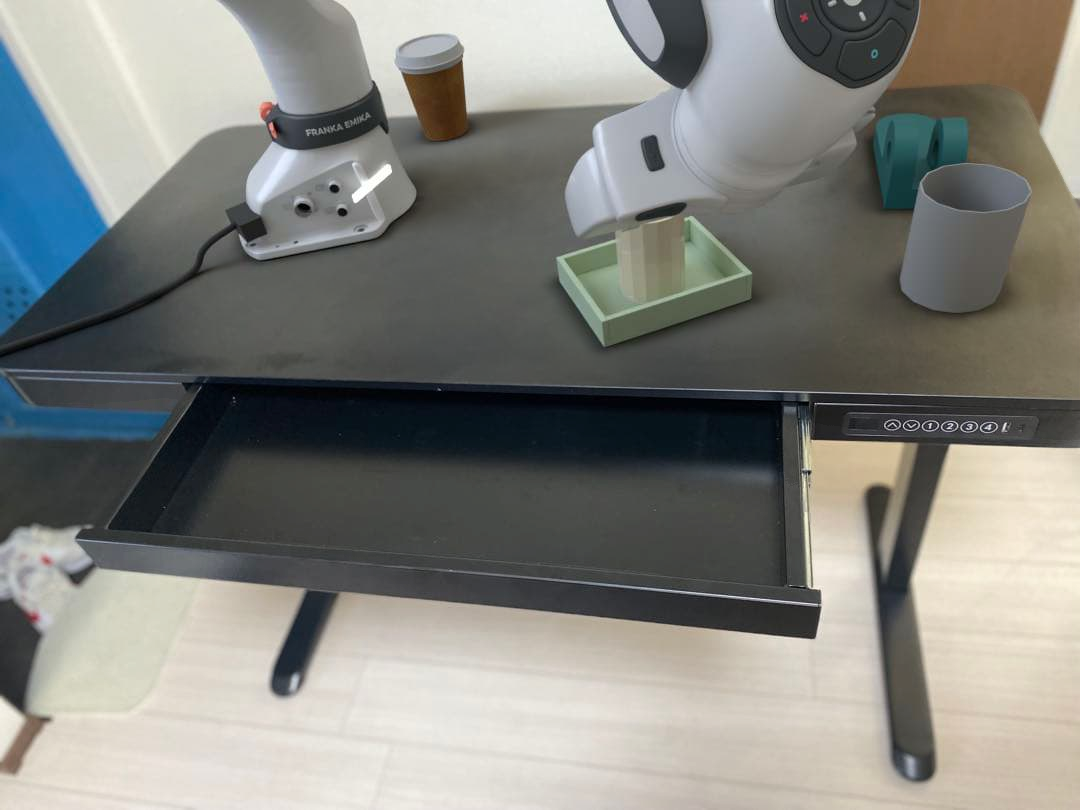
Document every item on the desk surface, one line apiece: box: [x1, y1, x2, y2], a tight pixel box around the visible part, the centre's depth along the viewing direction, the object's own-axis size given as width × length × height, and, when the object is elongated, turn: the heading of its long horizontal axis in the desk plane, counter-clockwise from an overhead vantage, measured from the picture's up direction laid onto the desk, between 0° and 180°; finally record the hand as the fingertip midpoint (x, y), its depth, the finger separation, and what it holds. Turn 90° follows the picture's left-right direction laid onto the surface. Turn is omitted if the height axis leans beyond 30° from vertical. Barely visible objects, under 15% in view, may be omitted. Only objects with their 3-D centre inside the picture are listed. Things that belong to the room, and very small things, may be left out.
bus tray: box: [555, 215, 753, 348], centre depth 78 cm, size 15×12×3 cm
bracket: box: [872, 112, 969, 210], centre depth 86 cm, size 18×7×8 cm, turn 168°
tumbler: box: [614, 214, 685, 305], centre depth 75 cm, size 6×6×9 cm
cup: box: [899, 162, 1033, 314], centre depth 70 cm, size 8×8×10 cm
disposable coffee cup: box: [394, 33, 469, 142], centre depth 109 cm, size 10×10×12 cm
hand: (681, 206), depth 64 cm, fingers open, 8 cm apart
